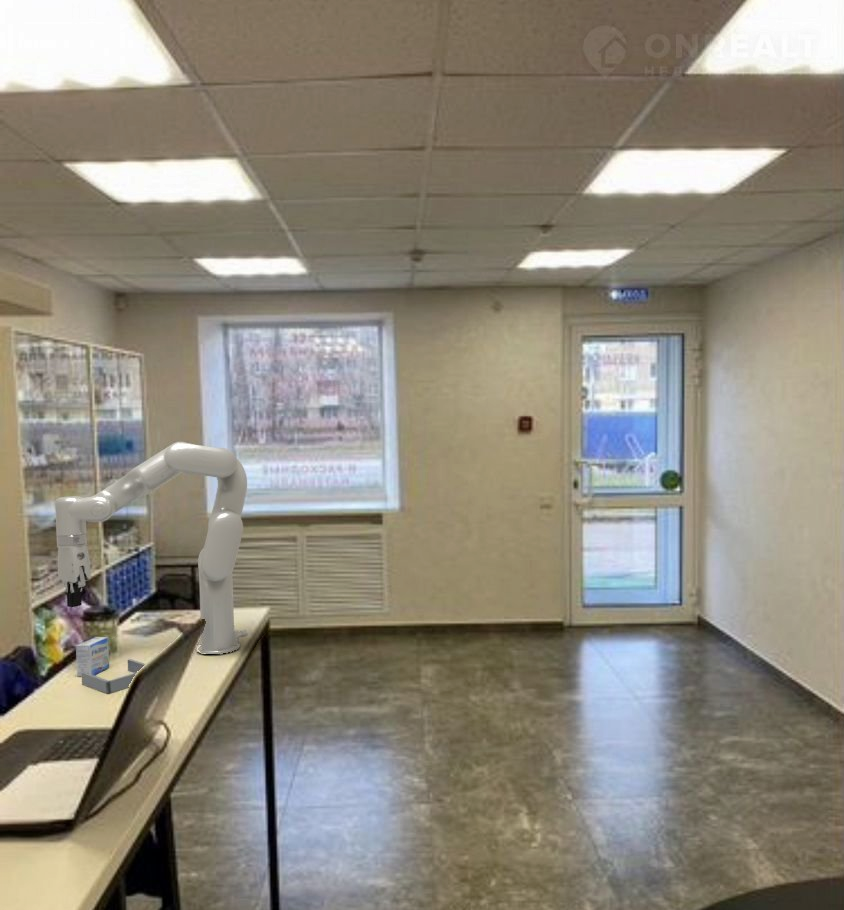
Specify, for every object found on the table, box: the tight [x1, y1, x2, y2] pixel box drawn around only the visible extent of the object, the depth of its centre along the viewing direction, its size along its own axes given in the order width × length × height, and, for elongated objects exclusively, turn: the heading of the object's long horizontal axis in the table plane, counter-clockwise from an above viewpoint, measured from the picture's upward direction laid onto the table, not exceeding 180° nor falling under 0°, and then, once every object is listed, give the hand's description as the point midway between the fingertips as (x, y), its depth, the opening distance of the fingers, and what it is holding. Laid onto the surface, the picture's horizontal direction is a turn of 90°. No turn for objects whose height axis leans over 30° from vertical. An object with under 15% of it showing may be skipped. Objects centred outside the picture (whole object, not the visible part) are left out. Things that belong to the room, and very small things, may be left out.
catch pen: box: [81, 658, 146, 695], centre depth 188 cm, size 14×13×3 cm
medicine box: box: [75, 636, 110, 677], centre depth 196 cm, size 8×4×9 cm, turn 168°
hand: (74, 605), depth 201 cm, fingers closed
